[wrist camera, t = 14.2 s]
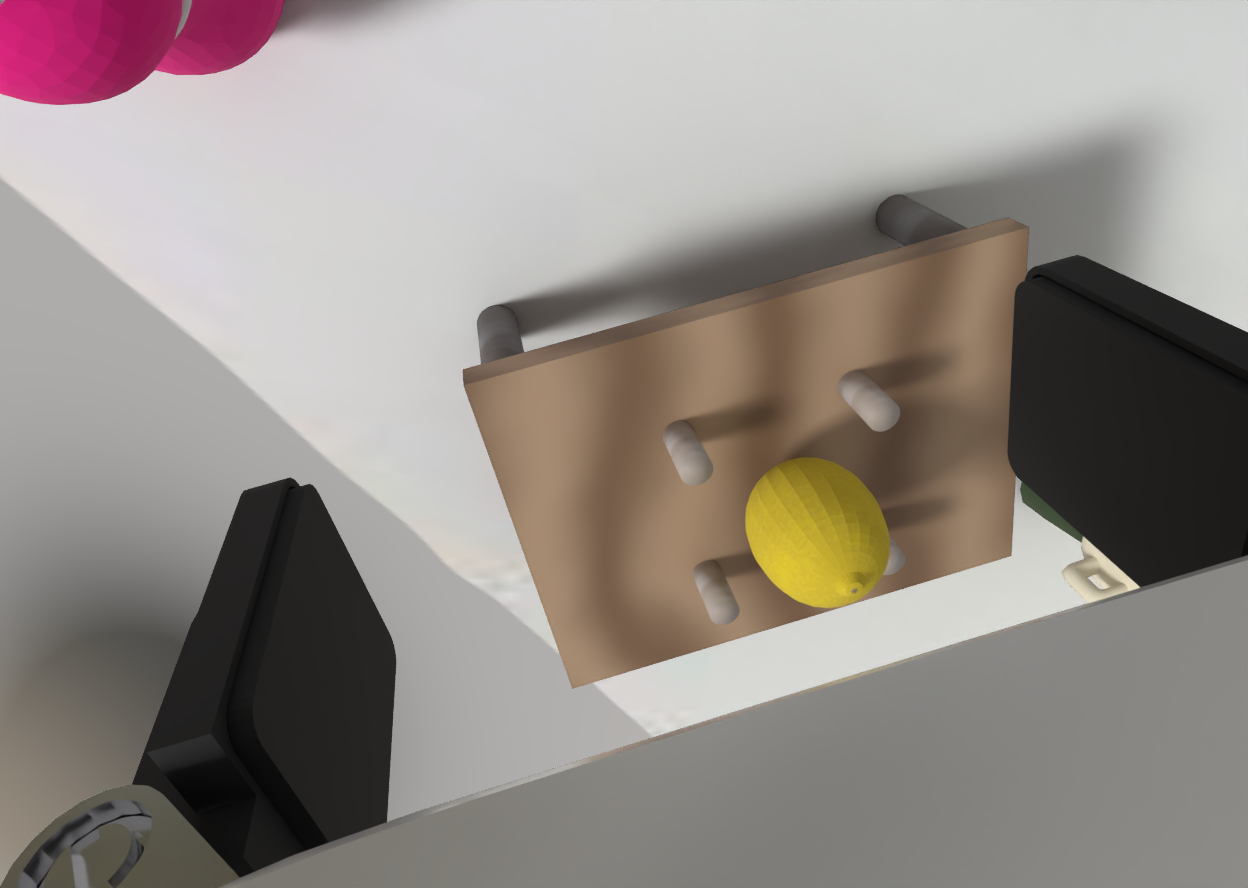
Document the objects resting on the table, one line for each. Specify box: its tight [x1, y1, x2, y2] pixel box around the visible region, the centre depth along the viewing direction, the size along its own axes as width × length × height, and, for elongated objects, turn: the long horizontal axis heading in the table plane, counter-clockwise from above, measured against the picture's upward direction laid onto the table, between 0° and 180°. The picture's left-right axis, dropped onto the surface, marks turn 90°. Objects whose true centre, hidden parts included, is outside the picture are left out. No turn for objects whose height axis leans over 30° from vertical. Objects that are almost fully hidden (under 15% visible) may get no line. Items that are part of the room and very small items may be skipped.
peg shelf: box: [463, 195, 1029, 689], centre depth 41 cm, size 24×18×12 cm
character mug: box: [1020, 482, 1140, 603], centre depth 48 cm, size 11×7×13 cm, turn 106°
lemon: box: [745, 457, 890, 608], centre depth 35 cm, size 6×6×8 cm
